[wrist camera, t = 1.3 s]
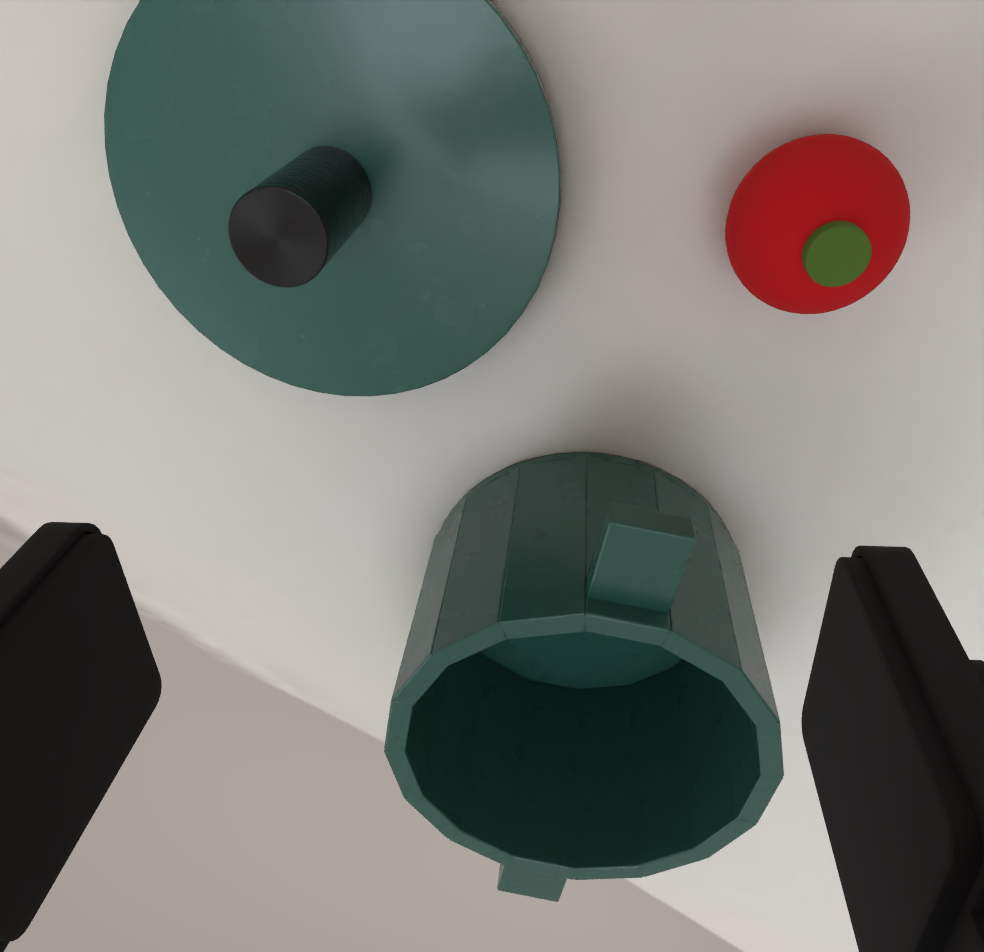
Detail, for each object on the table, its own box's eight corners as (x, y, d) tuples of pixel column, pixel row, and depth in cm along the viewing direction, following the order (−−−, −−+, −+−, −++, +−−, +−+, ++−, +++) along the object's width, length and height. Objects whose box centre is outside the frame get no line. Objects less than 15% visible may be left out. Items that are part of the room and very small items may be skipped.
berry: (908, 137, 24) (977, 179, 20) (842, 294, 27) (891, 361, 22) (745, 105, 24) (779, 139, 20) (695, 265, 27) (715, 326, 22)
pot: (812, 425, 29) (889, 592, 22) (669, 752, 39) (688, 946, 31) (465, 356, 29) (420, 499, 21) (409, 700, 39) (364, 883, 31)
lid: (610, -31, 22) (616, -25, 17) (517, 415, 30) (501, 513, 25) (103, -133, 22) (-45, -157, 17) (137, 340, 30) (42, 422, 25)
